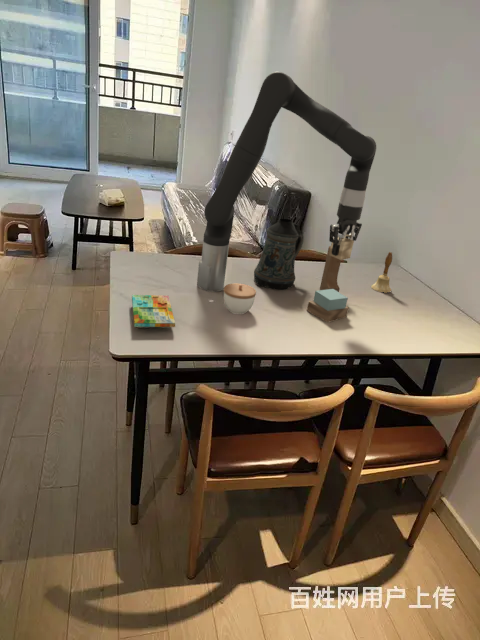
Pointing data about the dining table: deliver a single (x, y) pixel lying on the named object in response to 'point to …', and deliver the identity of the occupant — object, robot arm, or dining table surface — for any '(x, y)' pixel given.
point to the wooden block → (330, 273)
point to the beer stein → (279, 256)
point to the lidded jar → (239, 297)
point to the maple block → (343, 249)
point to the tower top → (330, 299)
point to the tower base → (326, 312)
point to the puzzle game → (152, 311)
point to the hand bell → (384, 277)
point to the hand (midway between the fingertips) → (339, 253)
